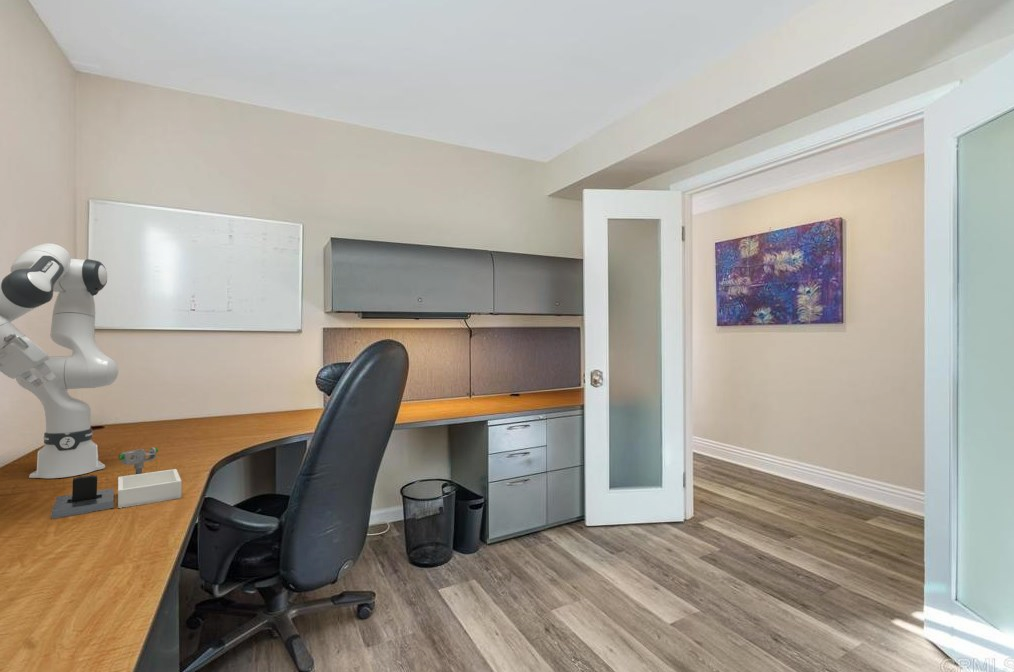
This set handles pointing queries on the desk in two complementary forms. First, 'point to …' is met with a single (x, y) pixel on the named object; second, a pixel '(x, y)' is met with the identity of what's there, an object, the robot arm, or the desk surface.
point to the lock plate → (82, 504)
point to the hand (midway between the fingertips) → (45, 382)
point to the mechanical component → (138, 458)
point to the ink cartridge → (84, 488)
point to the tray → (148, 488)
